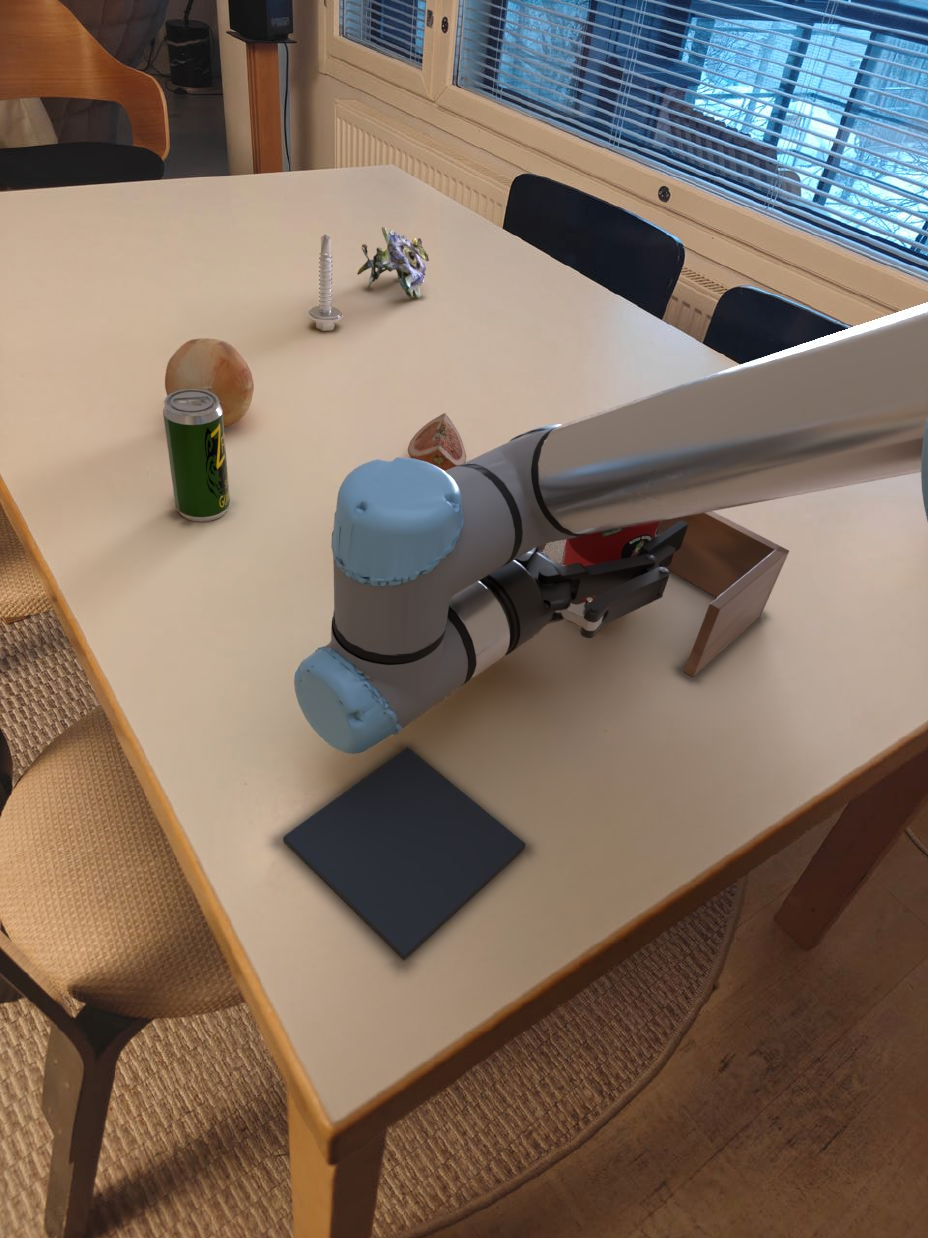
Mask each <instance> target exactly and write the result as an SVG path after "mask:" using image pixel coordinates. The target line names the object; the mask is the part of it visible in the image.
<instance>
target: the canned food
mask: <svg viewBox="0 0 928 1238" xmlns="http://www.w3.org/2000/svg"><path fill="white" fill-rule="evenodd" d="M660 524H661V521H656V522H651V523H646V524H640V525H635V526H629V527H624V528H619V529H613V530H608V531H603V532H597V533H592V534H588V535H584V536H579V537H575V538H570V539H565V543H564V548H563V553H562V556H561V557H562V558H561V561H560V564H562V565H569V564H574V563H581V564H582V565H583V566H588V565H593V564H598V563H603V562H609V561H614V560H619V559H624V558H629V557H634V556H639V553H640V550H641V547H642V546H643V545H645V544H646V543H648V542H650V541H651V540H653V539H654V538H655V537H657V534H658V531H659V527H660ZM596 596H598V595H596ZM596 596H592V597H591V598H593V599H594V598H595V597H596ZM587 598H588V597H587ZM583 602H586V598H584V599H583V600H582V601H581V602H580V603H583Z"/></svg>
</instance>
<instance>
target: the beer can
mask: <svg viewBox="0 0 928 1238" xmlns="http://www.w3.org/2000/svg"><path fill="white" fill-rule="evenodd" d="M164 398H165V399H164V401H163V402H164V403H163V404H164V408H163V410H162V415H163V422H164V430H165V431H164V432H165V437H166V438H165V439H166V446H167V453H168V461H169V469H170V476H171V484H172V492H173V499H174V505H175V508H176V510H177V511H178V512H179V514H180V515H181V516H182V518H185V519H186V520H189V521H192V522H199V523H200V522H201V523H202V522H205V523H206V522H211V521H212V522H213V521H214V520H218V519H219V518H221V517H223V516H224V515H225V514H226V513H227V511H228V509H229V506H230V503H231V499H230V498H231V497H230V486H229V473H228V461H227V449H226V435H225V426H224V423H223V411H222V408H221V406H220V404H219V399H218V397H217V396H216V395H215V394H213V393H211V392H209V391H205V390H200V389H184V390H179V391H176V392H173V393H171V394H169V395H168V396H167V395H166V397H164Z"/></svg>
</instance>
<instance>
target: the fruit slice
mask: <svg viewBox="0 0 928 1238" xmlns="http://www.w3.org/2000/svg"><path fill="white" fill-rule="evenodd" d="M407 454H408V455H409V458H412V459H417V460H420V461H425V462H427V463H430V464H433V465H435V466H437V467H439V468H440V469H442V470H444V471H446V470H448V469H451V468H453V467H456V466H457V465H462V464H464V463H466V462H467V453H466V449H465V446H464V442H463V439H462V437H461V435H460V433H459V431H458V430H457V428H456V427H455V424H454V423H453V421H452V420H451V418H450V417H449V416H448V415H447V414H446V413H445V412H444V413H442V414H440V415H439V416H437V417H435V418H433V419H432V420H430V421H428V422H427V423H426V424H424V425H423V426H422V427H421V428H420V429H418V431H417V432H416V433H415V434H414V436H413V437H412V438H411V440H410V441H409V444H408V446H407Z"/></svg>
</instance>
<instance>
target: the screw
mask: <svg viewBox="0 0 928 1238" xmlns="http://www.w3.org/2000/svg"><path fill="white" fill-rule="evenodd" d="M319 255H320V256H319V257H318V259H319V262H318V264H319V266H318V268H319V270H318V272H319V274H318V277H319V279H318V281H319V283H318V285H319V287H318V289H319V291H318V294H319V296H318V298H319V300H318V302H319V304H318V305H316V306H313V307H312V308H310V309H309V310H308V313H307V314H308V317H309V318H310V319H311V320H313V321H315V328H316V329H318V330H320V331H323V332H328V331H333V330H334V328H335V327H336V322H338V321H341V320H342V319H343V312H342V311H341V310H340V309H339V308H337V307H335V306H332V305H333V302H332V301H333V298H332V297H333V294H332V293H333V285H332V284H333V281H332V280H333V277H332V276H333V273H332V272H333V268H332V267H333V264H332V263H333V260H332V258H333V256H332V255H331V237H330V236H329V235H327V234H323V235H322V236H321V237H320V253H319Z"/></svg>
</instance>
